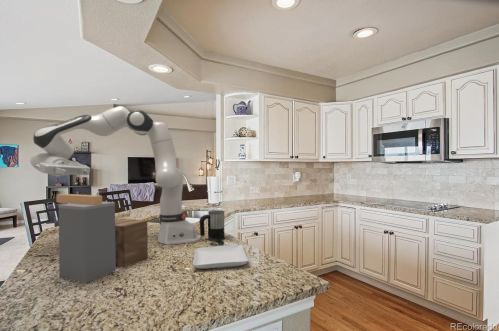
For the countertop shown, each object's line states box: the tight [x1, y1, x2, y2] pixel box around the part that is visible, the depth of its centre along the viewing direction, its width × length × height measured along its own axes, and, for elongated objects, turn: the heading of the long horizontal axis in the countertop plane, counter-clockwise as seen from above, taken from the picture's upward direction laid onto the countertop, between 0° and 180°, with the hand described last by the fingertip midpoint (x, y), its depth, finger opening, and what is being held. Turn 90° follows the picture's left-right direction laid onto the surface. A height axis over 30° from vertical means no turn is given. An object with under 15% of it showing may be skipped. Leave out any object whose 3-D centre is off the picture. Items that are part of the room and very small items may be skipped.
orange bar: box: [56, 193, 103, 205], centre depth 101 cm, size 22×3×3 cm, turn 66°
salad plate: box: [192, 244, 249, 270], centre depth 111 cm, size 21×21×3 cm
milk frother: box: [199, 209, 226, 245], centre depth 140 cm, size 14×16×15 cm
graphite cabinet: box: [58, 201, 117, 284], centre depth 99 cm, size 14×12×26 cm
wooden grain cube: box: [115, 218, 149, 268], centre depth 113 cm, size 14×12×16 cm
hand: (76, 172), depth 119 cm, fingers open, 8 cm apart
